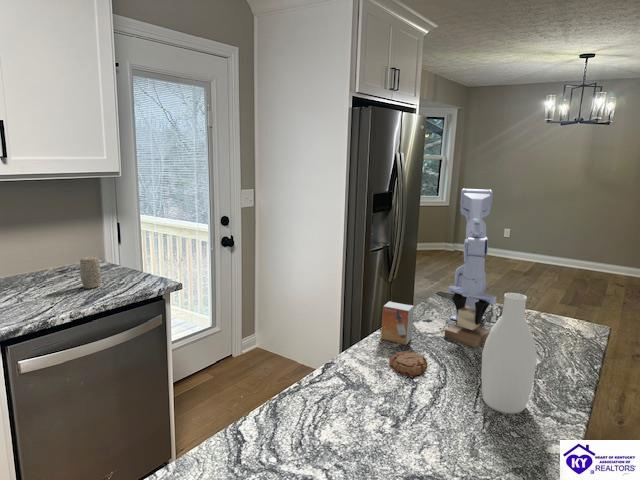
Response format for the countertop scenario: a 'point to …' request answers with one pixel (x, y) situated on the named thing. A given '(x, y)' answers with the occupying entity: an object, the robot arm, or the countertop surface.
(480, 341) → the walnut block
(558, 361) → the countertop surface
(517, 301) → the bottle
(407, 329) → the small box
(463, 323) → the maple cube
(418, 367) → the cookie
